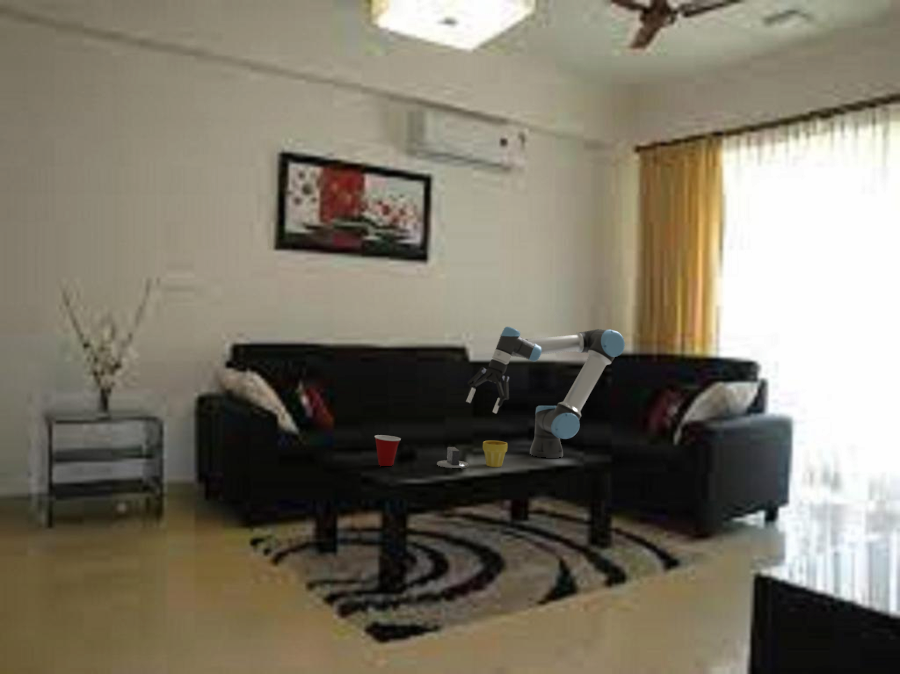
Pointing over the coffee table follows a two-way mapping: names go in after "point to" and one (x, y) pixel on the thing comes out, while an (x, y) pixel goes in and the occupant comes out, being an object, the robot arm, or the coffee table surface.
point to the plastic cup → (386, 449)
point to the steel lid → (452, 459)
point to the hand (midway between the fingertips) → (481, 407)
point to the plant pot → (494, 452)
